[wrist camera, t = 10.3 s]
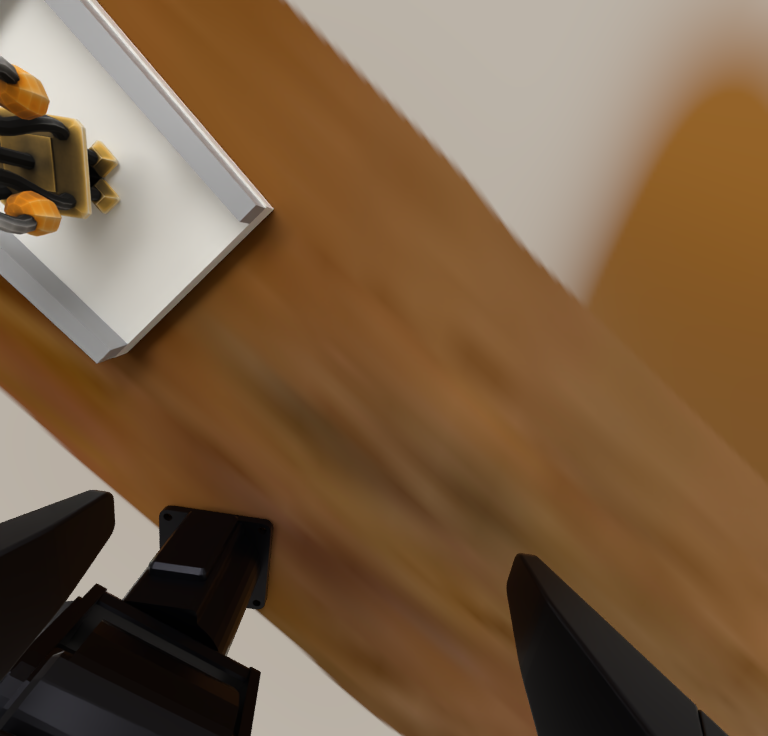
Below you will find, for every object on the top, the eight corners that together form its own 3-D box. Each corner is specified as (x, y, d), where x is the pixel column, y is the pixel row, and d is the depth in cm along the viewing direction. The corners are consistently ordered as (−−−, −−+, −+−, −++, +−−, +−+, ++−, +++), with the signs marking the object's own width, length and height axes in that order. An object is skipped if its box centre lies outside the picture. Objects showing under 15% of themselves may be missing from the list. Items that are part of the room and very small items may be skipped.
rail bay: (273, 209, 18) (257, 203, 16) (127, 352, 20) (95, 364, 18) (41, -65, 15) (-17, -116, 13) (-100, 137, 17) (-169, 121, 15)
